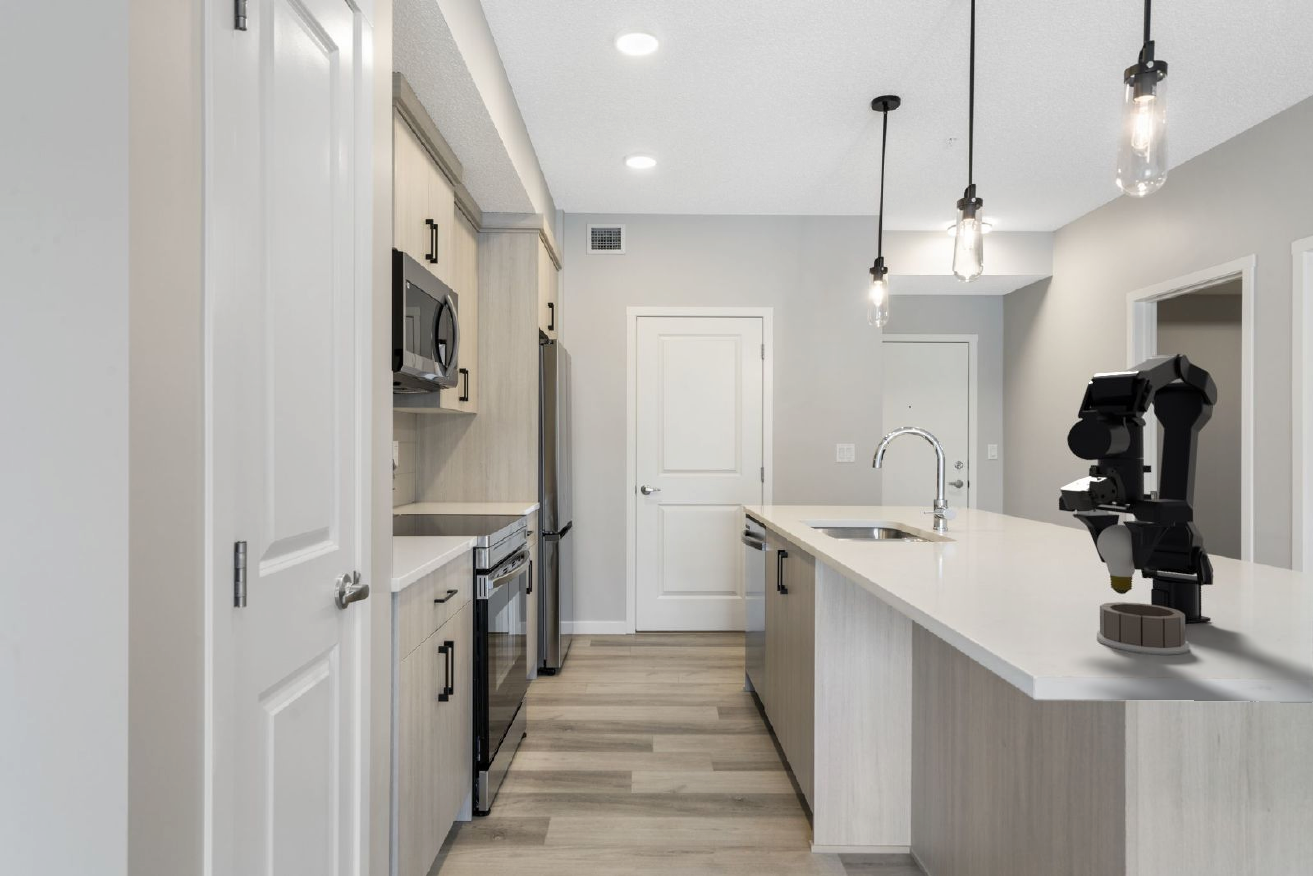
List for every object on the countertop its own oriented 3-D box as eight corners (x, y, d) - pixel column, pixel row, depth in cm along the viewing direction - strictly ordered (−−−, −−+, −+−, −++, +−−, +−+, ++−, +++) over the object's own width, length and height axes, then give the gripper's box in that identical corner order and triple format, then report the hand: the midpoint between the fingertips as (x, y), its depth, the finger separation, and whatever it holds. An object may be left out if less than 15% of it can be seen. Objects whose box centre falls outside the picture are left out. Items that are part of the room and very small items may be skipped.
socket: (1141, 631, 113) (1140, 600, 113) (1209, 651, 102) (1208, 616, 102) (1079, 636, 110) (1078, 603, 111) (1142, 657, 100) (1141, 621, 100)
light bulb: (1152, 598, 105) (1151, 527, 105) (1106, 597, 106) (1105, 526, 106) (1136, 590, 110) (1135, 522, 110) (1092, 588, 112) (1091, 522, 112)
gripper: (1027, 457, 116) (1028, 558, 116) (1123, 461, 97) (1124, 580, 97) (1090, 456, 118) (1091, 555, 118) (1196, 459, 99) (1197, 576, 99)
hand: (1121, 565), depth 108 cm, fingers closed on light bulb, 6 cm apart
